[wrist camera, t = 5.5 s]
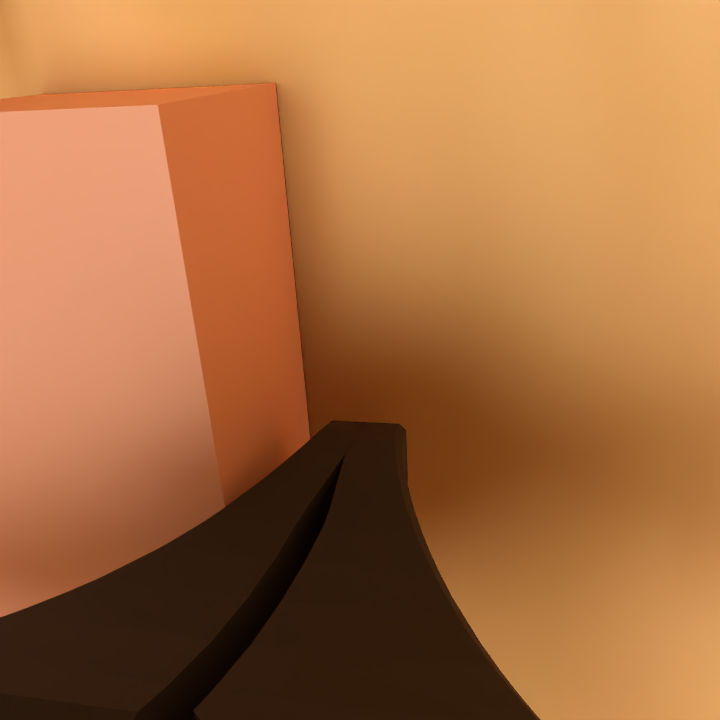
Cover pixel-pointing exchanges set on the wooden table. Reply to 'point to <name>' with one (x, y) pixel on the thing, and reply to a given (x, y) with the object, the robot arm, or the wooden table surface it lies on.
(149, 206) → the t block
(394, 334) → the wooden table surface
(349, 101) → the wooden table surface
